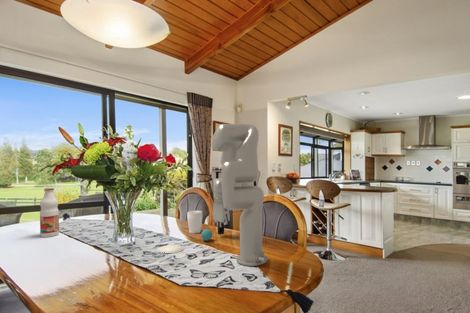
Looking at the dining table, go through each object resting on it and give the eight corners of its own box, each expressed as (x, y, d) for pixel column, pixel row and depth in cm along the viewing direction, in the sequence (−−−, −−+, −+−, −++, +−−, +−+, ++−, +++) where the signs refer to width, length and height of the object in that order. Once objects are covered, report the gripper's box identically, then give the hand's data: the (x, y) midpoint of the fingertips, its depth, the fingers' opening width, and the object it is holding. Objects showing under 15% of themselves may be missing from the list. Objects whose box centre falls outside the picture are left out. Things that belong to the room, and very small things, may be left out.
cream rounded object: (189, 249, 138) (189, 249, 138) (164, 255, 129) (164, 255, 129) (176, 243, 148) (176, 243, 148) (152, 249, 139) (152, 248, 139)
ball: (214, 240, 152) (214, 229, 152) (205, 242, 148) (205, 231, 148) (208, 238, 156) (208, 227, 156) (199, 240, 152) (198, 229, 152)
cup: (195, 234, 164) (194, 213, 164) (184, 232, 170) (183, 212, 170) (205, 231, 171) (205, 211, 172) (195, 229, 177) (194, 209, 177)
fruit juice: (62, 234, 172) (61, 187, 172) (46, 238, 163) (45, 189, 163) (53, 232, 176) (52, 187, 176) (36, 236, 168) (36, 188, 168)
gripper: (234, 201, 155) (234, 235, 155) (217, 198, 166) (218, 230, 166) (223, 203, 150) (223, 238, 150) (207, 200, 162) (207, 232, 162)
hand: (221, 233), depth 158 cm, fingers closed
